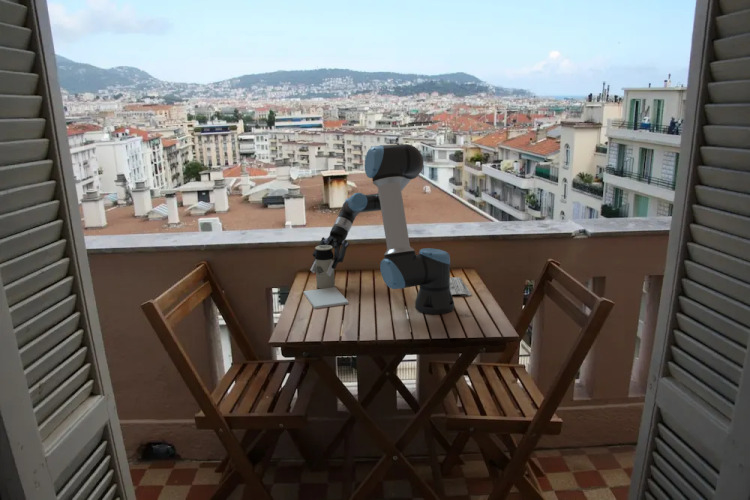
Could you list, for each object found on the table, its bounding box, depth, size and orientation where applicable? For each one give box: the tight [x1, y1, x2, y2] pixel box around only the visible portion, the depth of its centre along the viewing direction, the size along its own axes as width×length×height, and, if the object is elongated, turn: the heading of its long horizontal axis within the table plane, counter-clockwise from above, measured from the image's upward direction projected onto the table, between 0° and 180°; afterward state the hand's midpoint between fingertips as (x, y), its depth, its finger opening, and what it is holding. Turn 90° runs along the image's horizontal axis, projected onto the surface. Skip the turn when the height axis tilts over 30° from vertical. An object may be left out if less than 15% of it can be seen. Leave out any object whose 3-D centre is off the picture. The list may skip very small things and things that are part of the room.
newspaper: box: [450, 276, 472, 298], centre depth 239 cm, size 23×12×2 cm, turn 178°
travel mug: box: [314, 245, 336, 289], centre depth 242 cm, size 8×8×18 cm
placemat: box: [303, 286, 349, 310], centre depth 229 cm, size 20×14×1 cm
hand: (320, 273), depth 240 cm, fingers closed on travel mug, 8 cm apart
